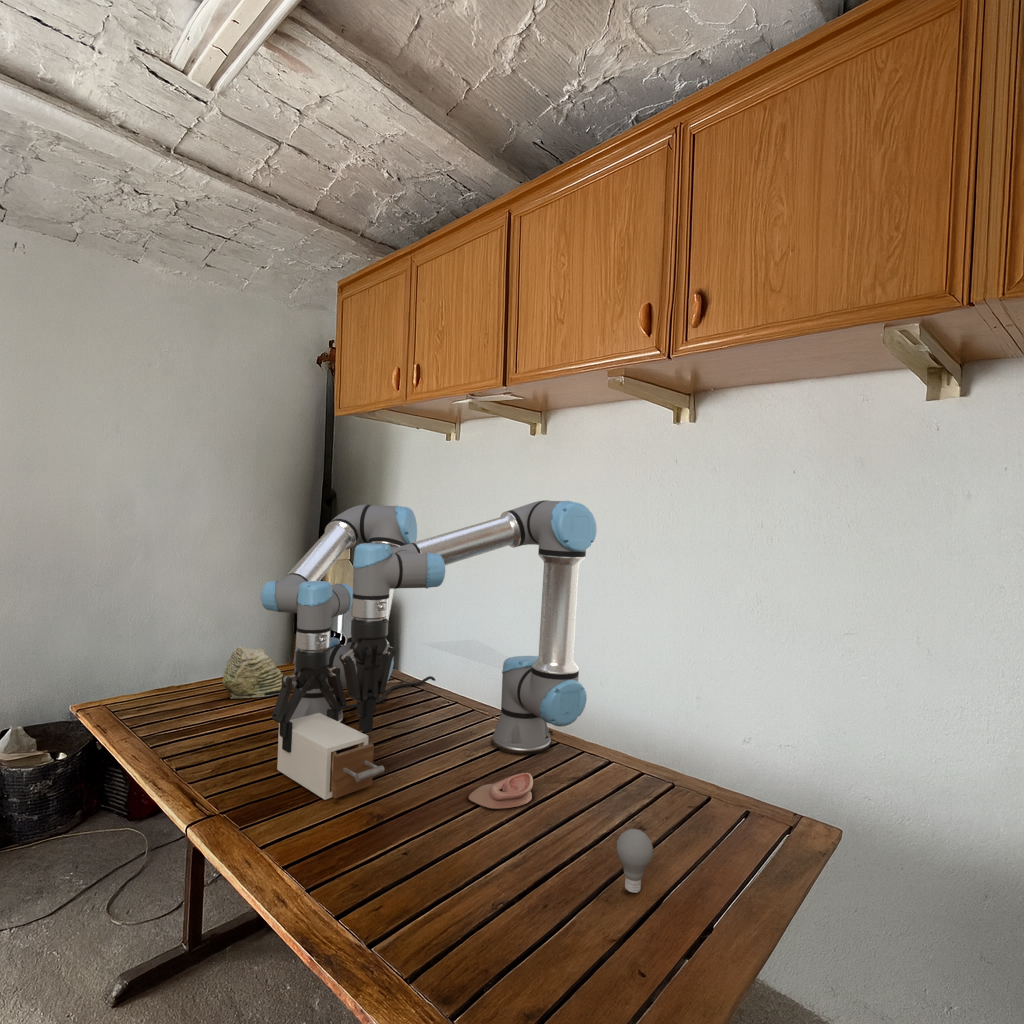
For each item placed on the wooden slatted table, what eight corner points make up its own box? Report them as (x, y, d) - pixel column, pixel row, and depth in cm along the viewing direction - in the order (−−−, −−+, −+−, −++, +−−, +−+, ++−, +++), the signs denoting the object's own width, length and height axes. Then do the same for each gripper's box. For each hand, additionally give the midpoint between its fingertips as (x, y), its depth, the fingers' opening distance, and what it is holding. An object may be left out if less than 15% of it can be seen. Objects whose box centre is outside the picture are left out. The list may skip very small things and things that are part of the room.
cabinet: (366, 784, 140) (368, 735, 140) (324, 800, 132) (326, 748, 132) (317, 757, 154) (319, 712, 153) (277, 769, 146) (278, 722, 145)
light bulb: (610, 879, 108) (613, 822, 108) (644, 879, 109) (647, 822, 109) (619, 902, 102) (622, 840, 102) (655, 901, 103) (658, 840, 103)
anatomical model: (464, 786, 132) (478, 764, 144) (464, 804, 133) (478, 781, 144) (527, 794, 130) (536, 771, 141) (526, 813, 130) (535, 789, 141)
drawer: (389, 794, 134) (391, 753, 134) (351, 809, 127) (353, 765, 127) (325, 759, 150) (326, 722, 150) (289, 770, 143) (290, 731, 143)
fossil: (218, 695, 195) (220, 647, 195) (278, 685, 208) (279, 640, 207) (228, 703, 189) (230, 653, 188) (289, 692, 201) (290, 645, 201)
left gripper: (273, 660, 135) (270, 762, 135) (364, 644, 152) (360, 736, 153) (257, 653, 140) (253, 752, 140) (346, 639, 157) (342, 727, 158)
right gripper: (353, 624, 124) (349, 743, 125) (406, 617, 134) (401, 727, 135) (332, 618, 129) (328, 733, 130) (384, 611, 139) (380, 718, 140)
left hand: (309, 743), depth 146 cm, fingers closed on cabinet, 10 cm apart
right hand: (365, 730), depth 132 cm, fingers closed
